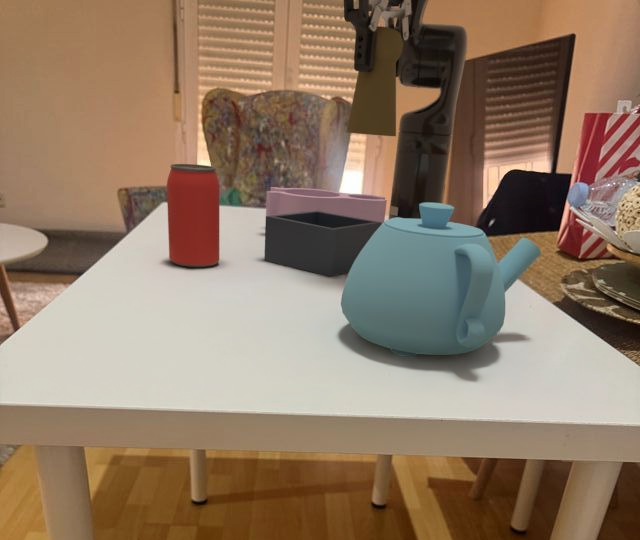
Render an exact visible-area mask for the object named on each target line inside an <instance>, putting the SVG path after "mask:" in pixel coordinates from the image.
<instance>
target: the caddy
mask: <svg viewBox="0 0 640 540" xmlns="http://www.w3.org/2000/svg"><path fill="white" fill-rule="evenodd" d="M381 225H382V223H381V222H376V221H371V220H365V219H360V218H354V217H349V216H343V215H338V214H332V213H327V212H321V211H309V212H300V213H290V214H281V215H272V216H266V215H265V229H264V231H265V232H264V233H265V234H264V259H263V260H264V261H265V262H270V263H273V264H277V265H282V266H286V267H290V268H294V269H298V270H301V271H305V272H310V273H314V274H319V275H322V276H326V277H334V276H338V275H341V274H347V273H349V271H350V269H351V267H352V265H353V263H354V261H355V260H356V258H357V256H358V255H359V253H360V252H361V250H362V249H363V248H364V246H365V245H366V243H367V242H368V241H369V239H370V238H371V237H372V235H373V234H374V233H375V231H376V230H377V229H378V228H379V227H380V226H381Z"/></svg>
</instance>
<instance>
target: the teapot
mask: <svg viewBox="0 0 640 540" xmlns="http://www.w3.org/2000/svg"><path fill="white" fill-rule="evenodd" d="M419 210H420V215H421V219H412V218H399V217H396V218H391V219H389V218H388V219H389V220H388V219H387V220H384V223H382V225H381V226H380V227H379V228H378V229H377V230H376V231H375V233H374V234H373V235H372V237H371V238H370V239H369V241H368V242H367V243H366V245H365V246H364V248H363V249H362V250H361V252H360V253H359V255H358V256H357V258H356V260H355V261H354V263H353V265H352V267H351V269H350V271H349V272H348V274H347V276H346V279H345V283H344V286H343V290H342V293H341V299H340V306H341V311H342V314H343V315H344V317H345V319H346V320H347V322H348V323H349V325H350V327H352V329H353V330H354V331H355V333H356V334H357V335H358V336H360V337H361V338H362V339H364V340H366V341H369V342H371V343H372V344H375V345H378V346H381V347H384V348H387V349H391V350H390V351H391V352H392V354H395V355H397V356H402V357H413V356H417V355H418V354H419V355H431V356H432V355H433V356H448V355H451V356H453V355H461V354H466V353H467V354H468V353H471V352H474V351H476V350H478V349H480V348H481V347H483V345H485V344H487V343H488V342H489V341H491V340H492V339H493V338H495V336H497V334H498V333H500V331H501V329H502V328H503V326H504V324H505V323H504V322H505V319H506V292H507V291H508V290H509V289H510V288H511V287H512V286H513V285H514V284H515V283H516V282H517V281H518V279H520V277H522V275H523V274H525V272H526V271H527V270H528V269H529V268H530V267H531V266H532V265H533V263H534V262H535V261H537V259H538V258H539V257H540V256H541V255H542V251H541V249H540V248H539V247H538V245H537V244H536V243H534V242H533V241H532V240H530V239H529V238H526V237H521V238H520V239H519V240H518V241H517V242H516V243H515V244H514V246H513V247H511V249H510V250H509V251H508V252H507V253H506V254H505V255H504V256H503V257H502V258H501V259H500V261H498V260H497V258H496V254H495V251H494V249H493V247H492V244H491V243H490V241H489V238H488V236H487V234H486V233H485V232H484V231H483V230H482V229H481V228H479V227H475V226H472V225H469V224H464V223H460V222H453V221H450V220H451V217H452V215H453V213H454V211H455V207H454V206H453V205H451V204H447V203H443V204H442V203H421V204H419Z"/></svg>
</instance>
